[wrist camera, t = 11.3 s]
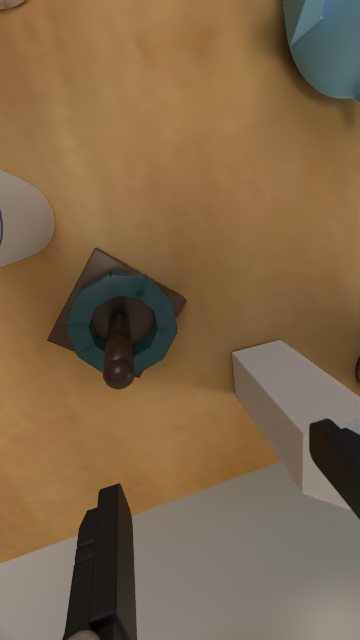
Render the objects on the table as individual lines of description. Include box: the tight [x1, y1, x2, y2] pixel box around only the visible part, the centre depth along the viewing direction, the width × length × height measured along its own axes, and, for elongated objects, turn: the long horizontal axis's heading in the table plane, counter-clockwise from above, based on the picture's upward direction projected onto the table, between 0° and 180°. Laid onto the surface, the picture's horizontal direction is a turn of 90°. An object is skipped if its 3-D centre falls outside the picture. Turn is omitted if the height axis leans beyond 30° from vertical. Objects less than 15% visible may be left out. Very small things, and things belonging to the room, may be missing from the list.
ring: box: [66, 270, 177, 374], centre depth 27 cm, size 11×11×3 cm
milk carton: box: [232, 340, 360, 510], centre depth 28 cm, size 7×7×19 cm
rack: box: [47, 247, 187, 389], centre depth 24 cm, size 11×11×14 cm
